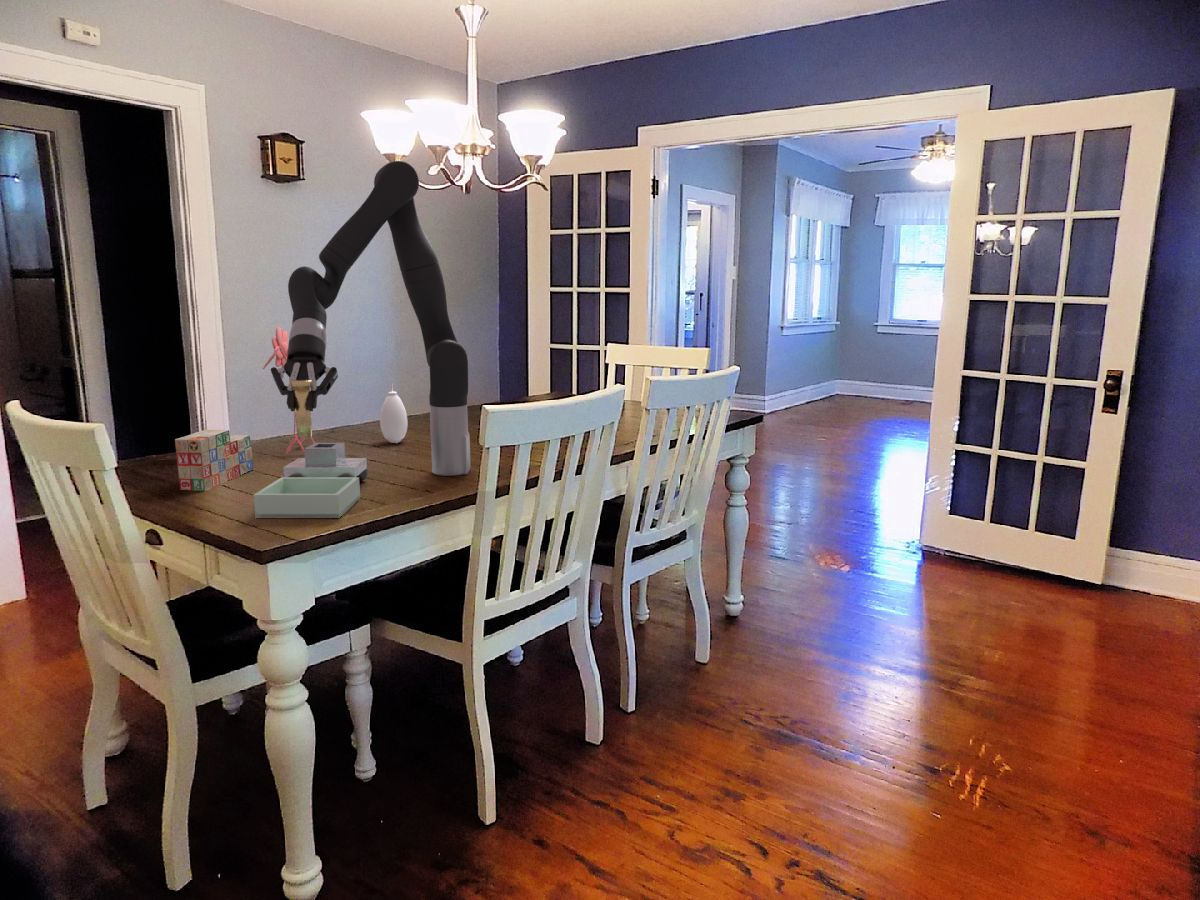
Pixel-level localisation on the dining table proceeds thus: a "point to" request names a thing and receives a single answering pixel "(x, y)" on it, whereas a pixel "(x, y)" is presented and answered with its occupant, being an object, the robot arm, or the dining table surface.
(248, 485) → the dining table surface
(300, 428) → the pin
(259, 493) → the tray
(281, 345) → the figurine
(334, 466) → the trolley
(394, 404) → the sauce bottle
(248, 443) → the stack of blocks
